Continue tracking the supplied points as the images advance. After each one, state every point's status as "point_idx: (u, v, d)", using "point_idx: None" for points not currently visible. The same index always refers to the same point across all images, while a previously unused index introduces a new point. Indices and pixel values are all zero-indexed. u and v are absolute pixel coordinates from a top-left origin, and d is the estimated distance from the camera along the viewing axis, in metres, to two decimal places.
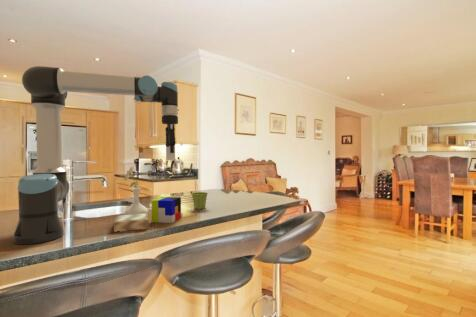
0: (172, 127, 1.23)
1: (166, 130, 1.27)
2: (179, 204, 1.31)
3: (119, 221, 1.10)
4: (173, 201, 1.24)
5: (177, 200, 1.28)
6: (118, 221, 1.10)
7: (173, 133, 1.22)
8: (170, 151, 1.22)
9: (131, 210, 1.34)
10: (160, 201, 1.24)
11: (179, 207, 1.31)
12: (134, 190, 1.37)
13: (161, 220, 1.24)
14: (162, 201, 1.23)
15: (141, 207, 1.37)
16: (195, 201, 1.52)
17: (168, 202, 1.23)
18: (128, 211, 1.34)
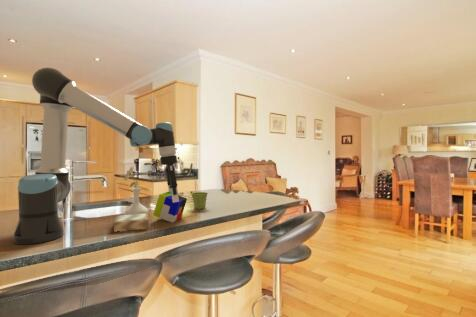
0: (172, 168, 1.22)
1: (166, 171, 1.26)
2: (183, 205, 1.31)
3: (119, 221, 1.10)
4: (180, 202, 1.24)
5: (183, 201, 1.28)
6: (118, 221, 1.10)
7: (174, 175, 1.21)
8: (173, 193, 1.20)
9: (131, 210, 1.34)
10: (167, 198, 1.23)
11: (183, 208, 1.31)
12: (134, 190, 1.37)
13: (163, 216, 1.24)
14: (169, 199, 1.23)
15: (141, 207, 1.37)
16: (195, 201, 1.52)
17: (175, 202, 1.23)
18: (128, 211, 1.34)
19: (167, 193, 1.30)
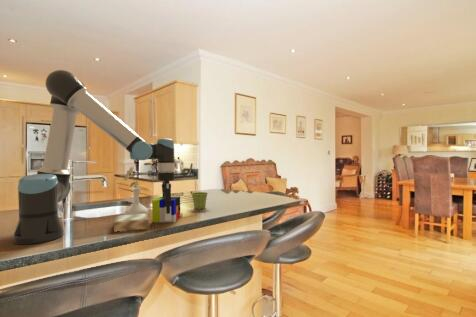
0: (168, 187, 1.22)
1: (162, 188, 1.26)
2: (179, 204, 1.31)
3: (119, 221, 1.10)
4: (175, 201, 1.25)
5: (177, 200, 1.29)
6: (118, 221, 1.10)
7: (169, 193, 1.21)
8: (166, 212, 1.21)
9: (131, 210, 1.34)
10: (161, 201, 1.23)
11: (179, 207, 1.31)
12: (134, 190, 1.37)
13: (162, 220, 1.23)
14: (164, 201, 1.23)
15: (141, 207, 1.37)
16: (195, 201, 1.52)
17: None
18: (128, 211, 1.34)
19: (159, 198, 1.30)
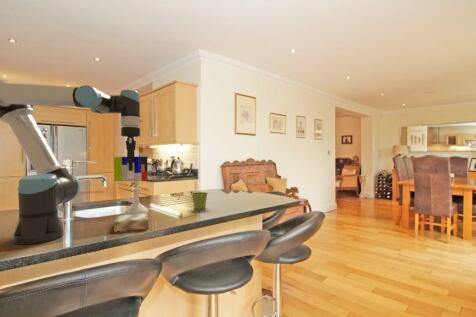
0: (131, 141, 1.10)
1: (126, 144, 1.14)
2: (146, 163, 1.20)
3: (119, 221, 1.10)
4: (139, 158, 1.13)
5: (143, 158, 1.17)
6: (118, 221, 1.10)
7: (132, 148, 1.09)
8: (128, 169, 1.09)
9: (131, 210, 1.34)
10: (124, 157, 1.11)
11: (146, 167, 1.20)
12: (134, 190, 1.37)
13: (125, 178, 1.12)
14: None
15: (141, 207, 1.37)
16: (195, 201, 1.52)
17: (134, 158, 1.11)
18: (128, 211, 1.34)
19: None
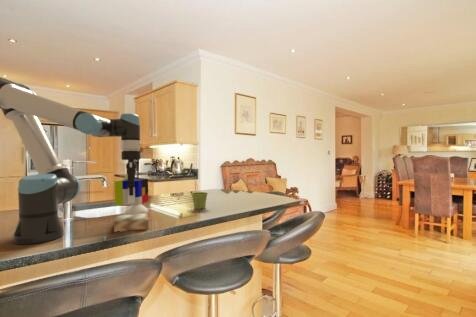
0: (131, 166, 1.10)
1: (126, 167, 1.14)
2: (146, 186, 1.20)
3: (119, 221, 1.10)
4: (140, 181, 1.13)
5: (144, 181, 1.17)
6: (118, 221, 1.10)
7: (132, 173, 1.09)
8: None
9: (131, 210, 1.34)
10: (125, 182, 1.12)
11: (146, 189, 1.20)
12: None
13: (126, 203, 1.12)
14: (127, 182, 1.12)
15: (141, 207, 1.37)
16: (195, 201, 1.52)
17: (134, 182, 1.11)
18: (128, 211, 1.34)
19: (124, 179, 1.18)
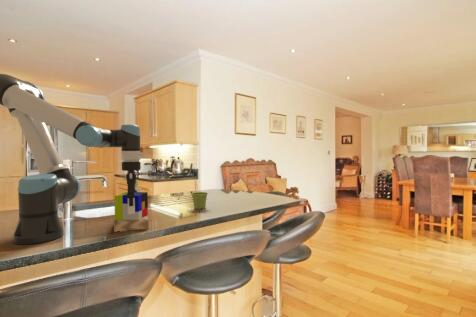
0: (131, 177, 1.10)
1: (126, 178, 1.14)
2: (146, 199, 1.20)
3: (119, 221, 1.10)
4: (140, 196, 1.13)
5: (144, 195, 1.18)
6: (118, 221, 1.10)
7: (132, 184, 1.09)
8: (129, 204, 1.09)
9: None
10: (125, 196, 1.12)
11: (146, 203, 1.20)
12: None
13: (126, 217, 1.12)
14: None
15: None
16: (195, 201, 1.52)
17: (134, 197, 1.11)
18: None
19: (124, 193, 1.18)
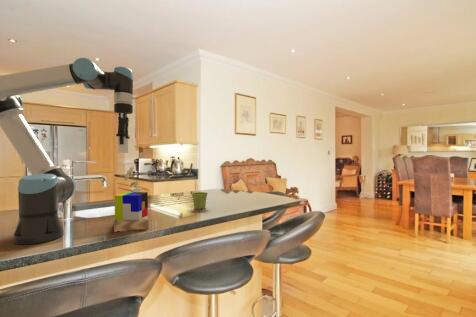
0: (122, 116, 1.13)
1: (118, 120, 1.17)
2: (146, 199, 1.20)
3: (119, 221, 1.10)
4: (140, 196, 1.13)
5: (144, 195, 1.18)
6: (118, 221, 1.10)
7: (123, 122, 1.12)
8: (119, 142, 1.12)
9: None
10: (125, 196, 1.12)
11: (146, 203, 1.20)
12: (134, 190, 1.37)
13: (126, 217, 1.12)
14: (127, 196, 1.12)
15: None
16: (195, 201, 1.52)
17: (134, 197, 1.11)
18: None
19: (124, 193, 1.18)
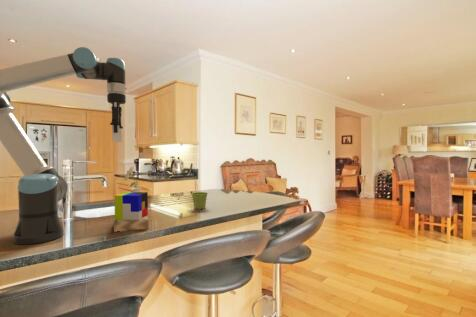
0: (116, 105, 1.16)
1: None
2: (146, 199, 1.20)
3: (119, 221, 1.10)
4: (140, 196, 1.13)
5: (144, 195, 1.18)
6: (118, 221, 1.10)
7: (117, 111, 1.15)
8: (113, 131, 1.15)
9: None
10: (125, 196, 1.12)
11: (146, 203, 1.20)
12: (134, 190, 1.37)
13: (126, 217, 1.12)
14: (127, 196, 1.12)
15: None
16: (195, 201, 1.52)
17: (134, 197, 1.11)
18: None
19: (124, 193, 1.18)
